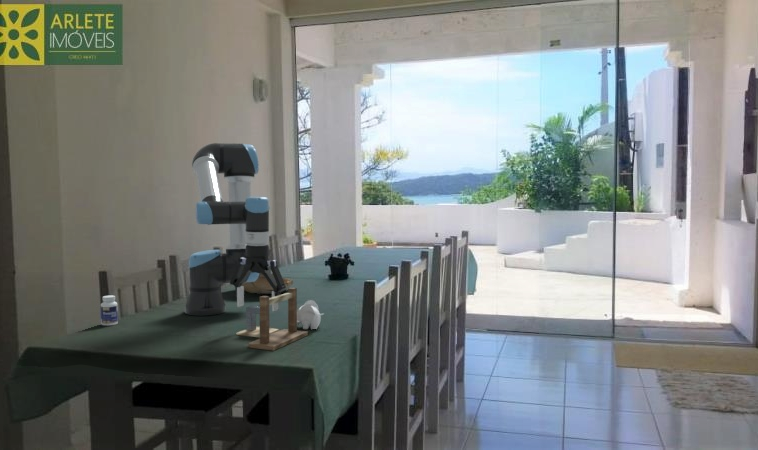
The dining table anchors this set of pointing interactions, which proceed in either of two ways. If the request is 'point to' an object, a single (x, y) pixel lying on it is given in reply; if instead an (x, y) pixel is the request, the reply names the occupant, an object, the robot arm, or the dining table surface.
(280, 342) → the stand
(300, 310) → the elephant figurine
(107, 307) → the pill bottle
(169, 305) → the dining table surface
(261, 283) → the brown wooden chunk
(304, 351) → the dining table surface
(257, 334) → the cork coaster
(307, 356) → the dining table surface
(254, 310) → the c link
